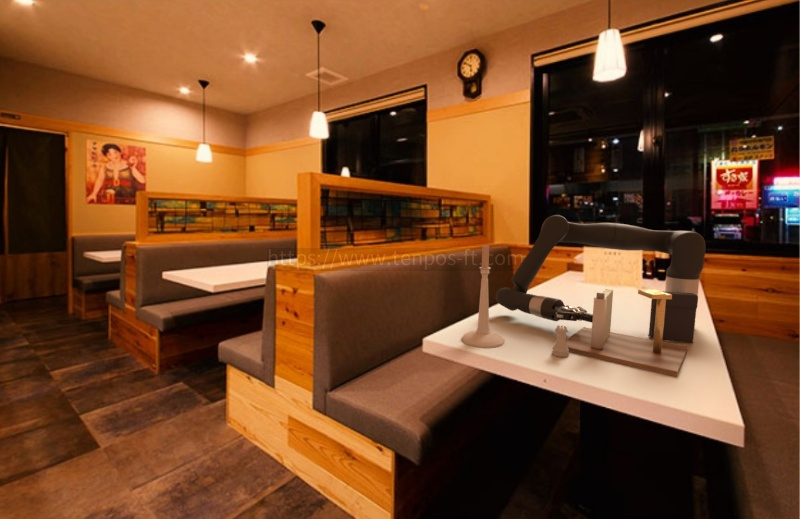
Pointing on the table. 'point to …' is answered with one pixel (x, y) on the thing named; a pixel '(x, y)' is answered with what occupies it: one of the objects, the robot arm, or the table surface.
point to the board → (630, 351)
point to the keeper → (657, 315)
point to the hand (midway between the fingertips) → (595, 319)
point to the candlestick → (483, 313)
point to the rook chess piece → (561, 342)
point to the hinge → (601, 318)
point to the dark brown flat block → (676, 317)
